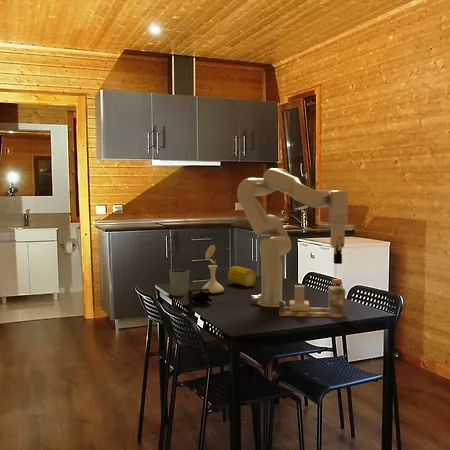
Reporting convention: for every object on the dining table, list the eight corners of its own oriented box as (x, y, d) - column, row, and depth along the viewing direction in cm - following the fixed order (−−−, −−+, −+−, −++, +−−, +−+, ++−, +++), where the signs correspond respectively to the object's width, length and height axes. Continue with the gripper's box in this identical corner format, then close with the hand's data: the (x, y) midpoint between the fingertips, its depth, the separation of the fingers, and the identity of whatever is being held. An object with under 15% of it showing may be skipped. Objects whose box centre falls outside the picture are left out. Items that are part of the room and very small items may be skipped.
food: (258, 286, 279) (258, 268, 278) (239, 288, 274) (239, 269, 273) (244, 281, 293) (244, 264, 292) (225, 283, 287) (225, 265, 286)
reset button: (332, 283, 215) (332, 280, 215) (331, 281, 219) (331, 278, 219) (342, 283, 215) (342, 280, 215) (340, 281, 219) (341, 278, 219)
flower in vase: (201, 290, 268) (201, 242, 266) (223, 290, 269) (223, 242, 267) (202, 295, 255) (202, 245, 253) (225, 295, 256) (225, 245, 254)
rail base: (279, 315, 216) (279, 288, 215) (279, 311, 224) (279, 284, 224) (344, 317, 213) (345, 290, 212) (342, 312, 222) (342, 286, 221)
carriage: (289, 311, 216) (290, 287, 216) (289, 307, 223) (289, 284, 223) (309, 311, 216) (309, 287, 215) (308, 307, 223) (308, 284, 222)
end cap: (206, 301, 243) (206, 287, 242) (212, 304, 236) (212, 290, 236) (186, 303, 238) (186, 289, 238) (192, 306, 232) (192, 292, 231)
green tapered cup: (166, 295, 255) (166, 271, 254) (173, 291, 265) (173, 268, 264) (185, 296, 253) (185, 272, 252) (192, 292, 263) (192, 269, 262)
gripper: (327, 219, 223) (327, 261, 224) (330, 221, 208) (330, 266, 209) (345, 219, 222) (344, 261, 223) (349, 221, 207) (349, 266, 208)
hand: (337, 263), depth 216 cm, fingers closed
